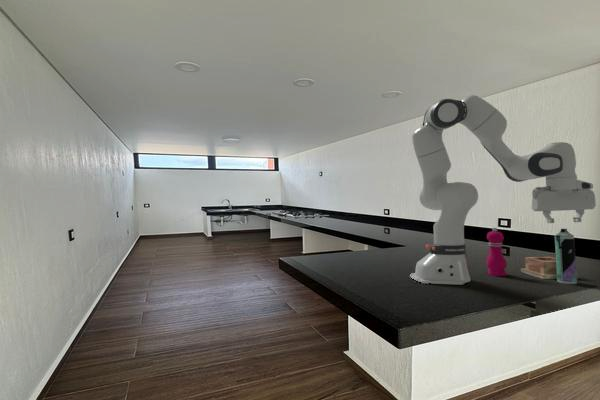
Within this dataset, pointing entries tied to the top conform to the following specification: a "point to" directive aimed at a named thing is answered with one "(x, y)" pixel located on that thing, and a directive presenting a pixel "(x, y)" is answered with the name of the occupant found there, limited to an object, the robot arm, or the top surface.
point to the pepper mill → (496, 254)
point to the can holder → (541, 267)
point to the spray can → (565, 257)
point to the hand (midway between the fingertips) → (564, 222)
